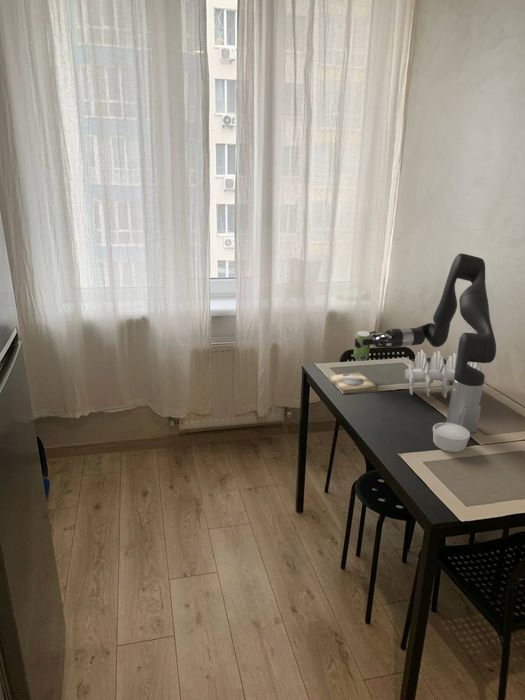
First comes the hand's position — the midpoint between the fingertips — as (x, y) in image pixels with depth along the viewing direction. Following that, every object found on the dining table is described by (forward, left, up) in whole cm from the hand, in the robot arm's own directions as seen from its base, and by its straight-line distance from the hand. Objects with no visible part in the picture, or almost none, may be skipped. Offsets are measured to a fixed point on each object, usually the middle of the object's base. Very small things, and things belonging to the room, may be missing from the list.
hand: (360, 340), depth 200 cm
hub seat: (-2, +3, -17) cm, 18 cm away
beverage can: (+2, -2, -9) cm, 10 cm away
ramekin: (-52, -6, -18) cm, 55 cm away
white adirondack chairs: (-19, -24, -18) cm, 36 cm away
